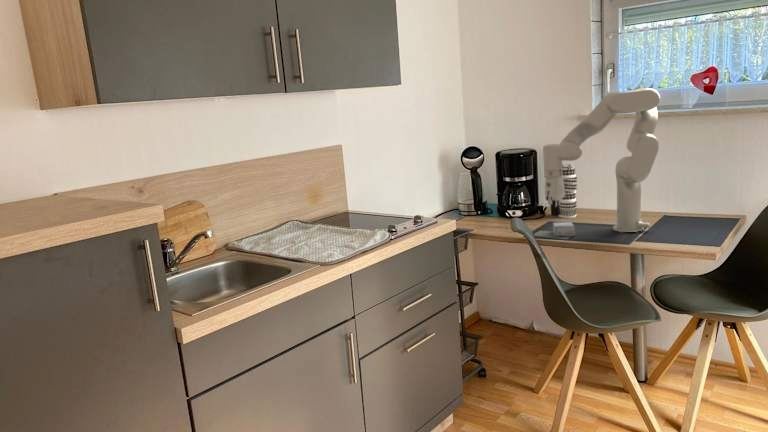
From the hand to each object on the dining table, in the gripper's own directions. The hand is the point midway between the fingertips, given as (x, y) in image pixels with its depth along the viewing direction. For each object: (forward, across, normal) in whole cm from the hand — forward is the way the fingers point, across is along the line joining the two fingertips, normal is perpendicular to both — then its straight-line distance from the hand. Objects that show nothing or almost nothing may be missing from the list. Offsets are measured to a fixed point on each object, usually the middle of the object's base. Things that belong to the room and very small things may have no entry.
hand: (555, 215), depth 263 cm
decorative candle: (+9, +34, +10) cm, 37 cm away
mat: (+9, -2, +1) cm, 9 cm away
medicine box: (+6, +5, 0) cm, 8 cm away
